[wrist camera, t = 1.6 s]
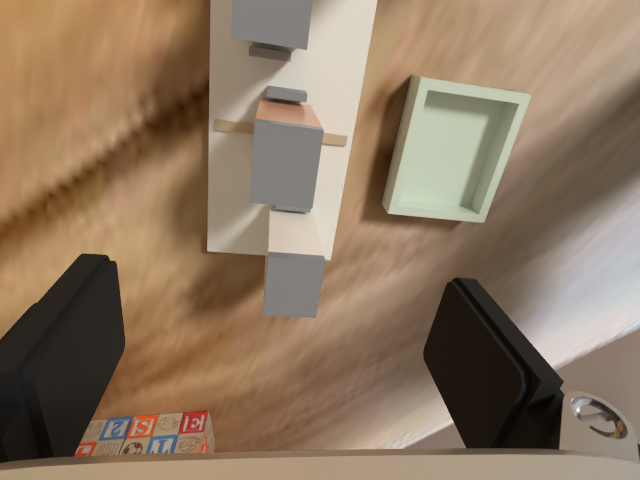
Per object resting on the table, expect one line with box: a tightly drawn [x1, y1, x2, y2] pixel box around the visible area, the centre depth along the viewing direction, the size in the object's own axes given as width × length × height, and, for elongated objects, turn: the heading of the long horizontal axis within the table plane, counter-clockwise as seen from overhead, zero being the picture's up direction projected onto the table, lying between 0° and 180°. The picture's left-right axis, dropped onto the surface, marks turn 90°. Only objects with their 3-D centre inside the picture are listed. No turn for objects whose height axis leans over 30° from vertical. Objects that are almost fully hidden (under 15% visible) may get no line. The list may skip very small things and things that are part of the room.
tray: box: [381, 75, 531, 223], centre depth 34 cm, size 10×12×2 cm
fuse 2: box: [263, 205, 325, 318], centre depth 32 cm, size 4×5×10 cm
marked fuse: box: [249, 98, 324, 209], centre depth 27 cm, size 4×5×10 cm
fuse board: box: [207, 0, 377, 260], centre depth 31 cm, size 12×25×3 cm, turn 172°
